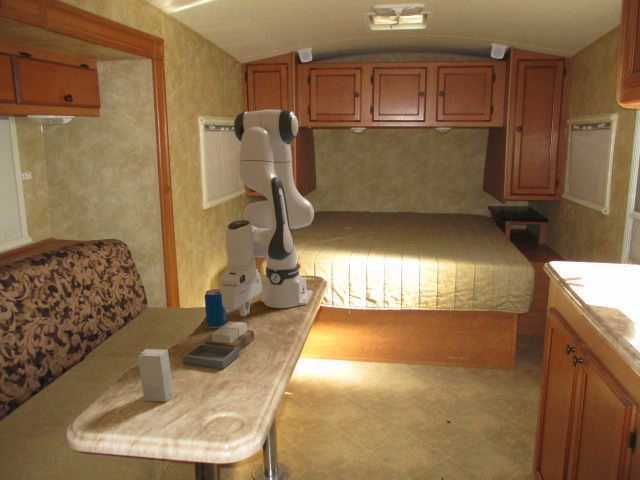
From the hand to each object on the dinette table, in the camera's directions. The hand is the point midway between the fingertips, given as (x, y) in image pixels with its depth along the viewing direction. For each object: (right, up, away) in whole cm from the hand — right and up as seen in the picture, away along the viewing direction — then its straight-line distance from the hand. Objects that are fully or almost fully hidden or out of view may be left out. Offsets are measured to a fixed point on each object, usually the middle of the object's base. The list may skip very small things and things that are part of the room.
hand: (244, 314), depth 166 cm
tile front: (-4, -6, -11) cm, 13 cm away
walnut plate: (-3, -8, -8) cm, 12 cm away
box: (-7, -10, -17) cm, 21 cm away
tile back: (-2, -5, -5) cm, 8 cm away
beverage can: (-11, -5, +9) cm, 15 cm away
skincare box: (-16, -15, -38) cm, 44 cm away
